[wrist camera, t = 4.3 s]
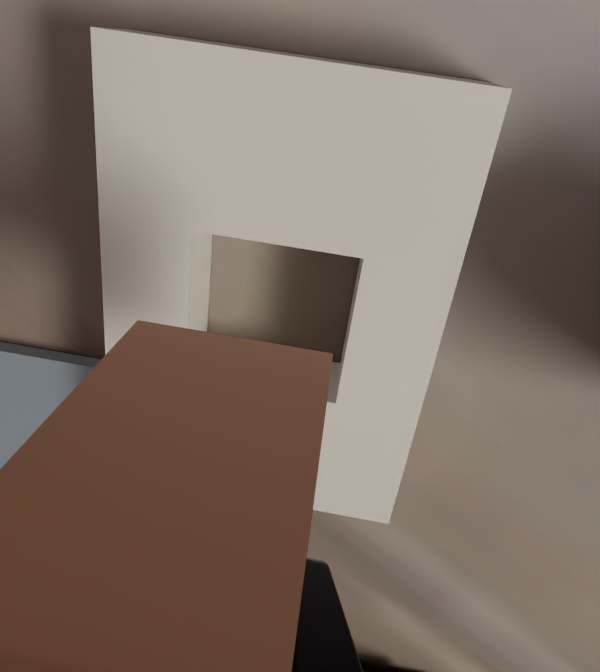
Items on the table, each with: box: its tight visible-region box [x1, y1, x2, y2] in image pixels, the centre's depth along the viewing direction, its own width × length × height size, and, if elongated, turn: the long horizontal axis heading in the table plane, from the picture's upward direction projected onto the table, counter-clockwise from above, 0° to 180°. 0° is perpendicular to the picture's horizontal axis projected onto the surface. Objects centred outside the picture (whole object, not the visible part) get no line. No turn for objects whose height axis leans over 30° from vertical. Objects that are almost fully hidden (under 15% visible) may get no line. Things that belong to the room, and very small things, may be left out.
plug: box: [0, 320, 333, 672], centre depth 8 cm, size 4×4×8 cm
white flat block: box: [90, 27, 512, 524], centre depth 17 cm, size 14×10×2 cm
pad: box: [0, 342, 101, 469], centre depth 22 cm, size 8×8×1 cm
